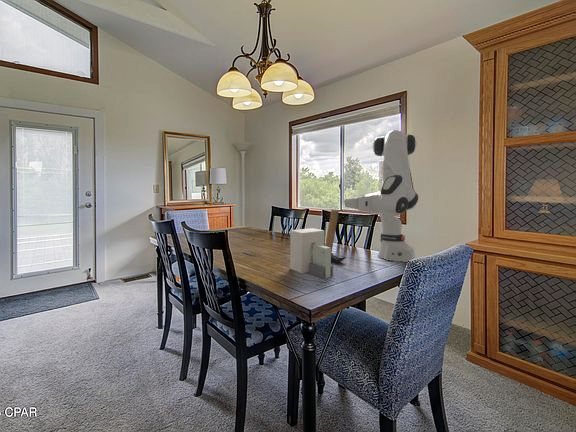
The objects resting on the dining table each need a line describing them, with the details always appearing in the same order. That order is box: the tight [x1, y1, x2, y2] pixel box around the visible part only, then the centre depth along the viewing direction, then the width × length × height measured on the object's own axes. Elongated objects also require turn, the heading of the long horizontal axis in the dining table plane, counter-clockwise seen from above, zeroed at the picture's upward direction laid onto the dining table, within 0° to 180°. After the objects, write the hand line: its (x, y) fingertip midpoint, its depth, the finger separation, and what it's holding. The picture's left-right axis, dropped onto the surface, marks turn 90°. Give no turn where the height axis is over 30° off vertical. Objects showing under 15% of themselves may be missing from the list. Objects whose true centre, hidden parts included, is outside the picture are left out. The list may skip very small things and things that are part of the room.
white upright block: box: [313, 244, 332, 279], centre depth 149 cm, size 10×4×14 cm, turn 33°
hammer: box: [324, 209, 346, 264], centre depth 174 cm, size 20×5×30 cm, turn 46°
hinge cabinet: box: [289, 227, 334, 279], centre depth 154 cm, size 22×14×20 cm, turn 33°
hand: (352, 201), depth 154 cm, fingers open, 8 cm apart
